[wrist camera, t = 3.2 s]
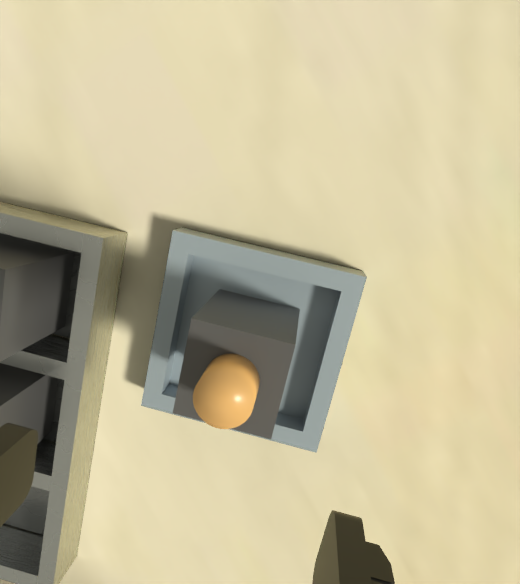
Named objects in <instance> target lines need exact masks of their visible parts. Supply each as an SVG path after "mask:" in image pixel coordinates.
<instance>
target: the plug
mask: <svg viewBox="0 0 520 584" xmlns="http://www.w3.org/2000/svg"><path fill="white" fill-rule="evenodd" d="M299 312H300V309H298V308H294V307H290V306H286V305H282V304H278V303H274V302H270V301H266V300H262V299H258V298H254V297H250V296H246V295H242V294H238V293H234V292H230V291H226V290H222V289H219V290H218V291H217V292H216V293H215V294H214V295H213V296H212V297H211V298H210V300H209V301H208V302H207V303H206V304H205V305H204V306H203V307H202V308H201V309H200V310H199V311H198V312H197V313H196V314H195V315H194V316H193V317H192V318H191V323H190V328H189V333H188V338H187V343H186V348H185V353H184V358H183V363H182V368H181V373H180V378H179V383H178V388H177V393H176V398H175V403H174V408H173V413H174V414H178V415H181V416H185V417H189V418H193V419H196V420H200V421H204V422H206V423H207V424H209V425H211V426H213V427H216V428H220V429H234V430H237V431H241V432H245V433H249V434H252V435H256V436H260V437H264V438H267V439H271V438H272V434H273V430H274V426H275V422H276V418H277V415H278V411H279V407H280V403H281V399H282V395H283V391H284V387H285V384H286V380H287V376H288V372H289V368H290V364H291V360H292V356H293V353H294V349H295V345H296V337H297V328H298V320H299Z"/></svg>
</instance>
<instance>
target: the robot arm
mask: <svg viewBox="0 0 520 584" xmlns="http://www.w3.org/2000/svg"><path fill="white" fill-rule="evenodd" d="M37 442H38V432H37V431H36V430H35V429H31V428H27V427H23V426H20V425H16V424H12V423H6V424H4V425H3V426H1V427H0V527H1V526H2V525H3V524H4V523H5V522H6V521H7V519H8V518H9V517H10V516H11V515H12V514H13V513H14V512H15V511H16V510H17V509H18V507H19V506H20V505H21V504H22V503H23V501H24V500H25V498H26V497H27V495H28V493H29V491H30V488H31V486H32V482H33V477H34V468H35V460H36V451H37ZM313 584H395V582H394V578H393V573H392V568H391V564H390V562H389V560H388V559H387V557H386V556H385V554H384V552H383V551H382V549H381V548H380V546H379V545H377V544H373V543H369V542H365V536H364V529H363V523H362V519H361V518H359V517H356V516H352V515H348V514H344V513H341V512H337V511H332V512H331V514H330V516H329V519H328V522H327V526H326V529H325V532H324V536H323V539H322V542H321V545H320V549H319V552H318V555H317V559H316V563H315V568H314V574H313Z"/></svg>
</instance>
